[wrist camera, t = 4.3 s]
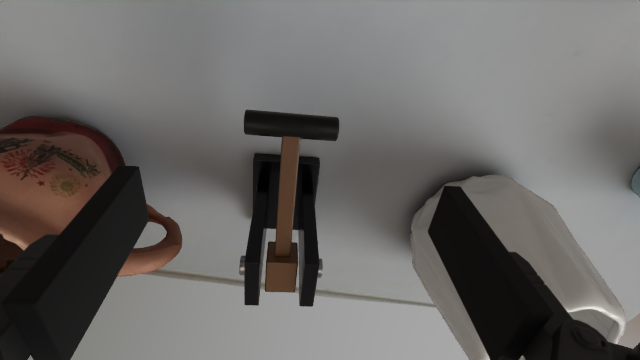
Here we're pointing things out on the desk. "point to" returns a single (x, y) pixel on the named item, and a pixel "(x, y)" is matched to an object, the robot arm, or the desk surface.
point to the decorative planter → (62, 187)
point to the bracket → (266, 217)
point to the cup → (636, 182)
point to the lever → (287, 184)
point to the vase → (529, 242)
